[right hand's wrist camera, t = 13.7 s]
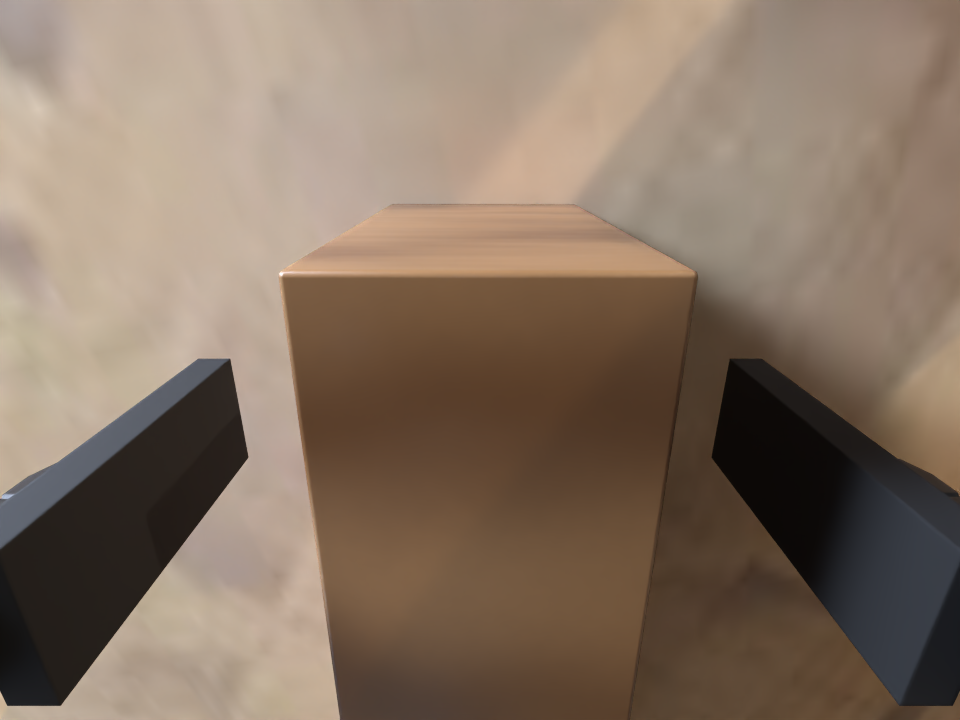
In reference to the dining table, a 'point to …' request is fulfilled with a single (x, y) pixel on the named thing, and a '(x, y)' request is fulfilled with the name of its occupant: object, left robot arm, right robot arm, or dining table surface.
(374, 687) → the post
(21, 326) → the dining table surface
